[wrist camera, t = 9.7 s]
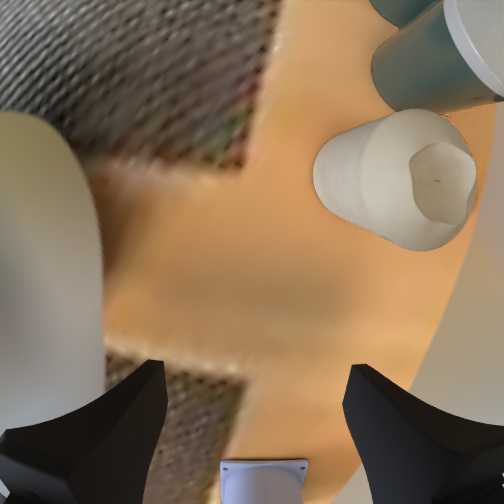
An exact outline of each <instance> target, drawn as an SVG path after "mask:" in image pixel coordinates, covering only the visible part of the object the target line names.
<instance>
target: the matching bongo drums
mask: <svg viewBox="0 0 504 504" xmlns="http://www.w3.org/2000/svg"><path fill="white" fill-rule="evenodd" d="M370 2H371V4H372V5H373V6H374V8H375V9H376V10H377V11H378V12H379V13H380V14H381V15H382V16H383V17H384V18H385V19H386V20H388V21H389V22H391V23H392V24H394V25H396V26H397V27H400V29H399V30H398V31H397V32H396V33H394V34H393V35H392V36H391V37H390V38H389V39H387V40H386V41H385V42H384V43H383V44H382V45H380V46H379V47H378V49H377V50H376V51H375V53H374V55H373V58H372V66H371V69H372V76H373V80H374V83H375V86H376V88H377V90H378V92H379V93H380V95H381V97H382V98H383V99H384V101H385V102H386V103H387V104H388V105H389V106H390V107H391V108H392V109H394V110H395V111H396V112H400V111H403V110H407V109H423V110H428V111H431V112H434V113H436V114H438V115H443V114H447V113H451V112H455V111H460V110H464V109H469V108H473V107H478V106H482V105H487V104H492V103H497V102H502V101H504V0H370Z"/></svg>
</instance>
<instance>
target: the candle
mask: <svg viewBox="0 0 504 504" xmlns="http://www.w3.org/2000/svg"><path fill="white" fill-rule="evenodd" d="M476 172H477V170H476V164H475V162H474V160H473V158H472V155H471V152H470V149H469V147H468V145H467V143H466V141H465V140H464V138H463V137H462V135H461V134H460V132H459V131H458V130H457V129H456V128H455V127H454V126H453V125H452V124H451V123H450V122H449V121H448V120H446V119H445V118H443V117H442V116H440V115H438V114H436V113H434V112H431V111H428V110H423V109H407V110H403V111H400V112H397V113H394V114H391V115H388V116H386V117H383V118H380V119H377V120H375V121H372V122H370V123H367V124H364V125H362V126H359V127H357V128H354V129H351V130H349V131H346V132H344V133H341V134H339V135H337V136H335V137H333V138H332V139H330V140H329V141H328V142H327V143H326V144H325V145H324V146H323V147H322V148H321V150H320V151H319V153H318V155H317V157H316V159H315V162H314V166H313V184H314V188H315V191H316V193H317V195H318V197H319V199H320V201H321V202H322V203H323V205H324V206H325V207H326V208H327V209H328V210H329V211H330V212H332V213H333V214H335V215H336V216H338V217H340V218H342V219H344V220H346V221H348V222H350V223H353V224H355V225H357V226H359V227H361V228H363V229H365V230H367V231H370V232H372V233H374V234H376V235H378V236H380V237H382V238H384V239H386V240H388V241H390V242H392V243H394V244H396V245H398V246H401V247H403V248H405V249H409V250H413V251H429V250H434V249H437V248H439V247H441V246H443V245H445V244H447V243H448V242H450V241H451V240H452V239H453V238H454V237H456V236H457V235H458V233H459V232H460V231H461V230H462V228H463V227H464V225H465V224H466V222H467V220H468V218H469V216H470V214H471V211H472V208H473V205H474V201H475V196H476V184H477V180H476Z"/></svg>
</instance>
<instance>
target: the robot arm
mask: <svg viewBox="0 0 504 504" xmlns="http://www.w3.org/2000/svg"><path fill="white" fill-rule="evenodd" d="M167 405H168V397H167V389H166V380H165V370H164V361H158V360H149V359H148V360H147V361H146V362H144V363H143V364H142V365H141V366H140V367H138V368H137V369H136V370H135V371H134V372H132V373H131V374H130V375H129V376H128V377H126V378H125V379H124V380H123V381H121V382H120V383H119V384H118V385H116V386H115V387H113V388H112V389H111V390H109V391H108V392H106V393H105V394H103V395H102V396H101V397H99V398H97V399H96V400H94V401H93V402H91V403H89V404H87V405H85V406H83V407H81V408H79V409H77V410H75V411H73V412H70V413H68V414H66V415H64V416H61V417H58V418H55V419H53V420H49V421H46V422H43V423H39V424H35V425H31V426H25V427H19V428H13V429H6V430H5V432H4V433H3V434H2V435H1V437H0V479H1V481H2V482H3V483H4V485H5V486H6V487H7V489H8V490H9V491H10V494H9V496H8V497H7V498H6V497H5V496H3V495H2V494H1V493H0V504H142V501H143V494H144V489H145V483H146V478H147V473H148V470H149V466H150V463H151V460H152V457H153V454H154V451H155V448H156V445H157V442H158V439H159V436H160V433H161V430H162V427H163V424H164V420H165V415H166V410H167ZM342 405H343V410H344V414H345V418H346V422H347V426H348V428H349V431H350V433H351V436H352V438H353V441H354V443H355V446H356V448H357V450H358V453H359V455H360V458H361V460H362V463H363V465H364V468H365V471H366V474H367V478H368V482H369V486H370V490H371V494H372V500H373V504H504V487H503V486H502V485H503V484H504V477H503V475H502V474H503V473H504V426H499V425H491V424H485V423H480V422H476V421H472V420H468V419H464V418H461V417H458V416H455V415H452V414H450V413H447V412H444V411H442V410H440V409H437V408H436V407H434V406H431V405H429V404H427V403H425V402H424V401H422V400H420V399H418V398H416V397H415V396H413V395H412V394H410V393H408V392H407V391H405V390H404V389H402V388H401V387H399V386H398V385H396V384H395V383H393V382H392V381H391V380H389V379H388V378H386V377H385V376H383V375H382V374H381V373H379V372H378V371H376V370H375V369H374V368H372V367H371V366H369V365H367V364H356V365H352V367H351V371H350V375H349V379H348V383H347V387H346V391H345V395H344V399H343V403H342ZM308 466H309V462H308V460H306V459H302V460H281V461H235V460H223V461H221V463H220V471H221V501H222V504H304V503H303V498H302V492H301V489H302V486H303V483H304V480H305V476H306V473H307V469H308Z"/></svg>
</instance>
